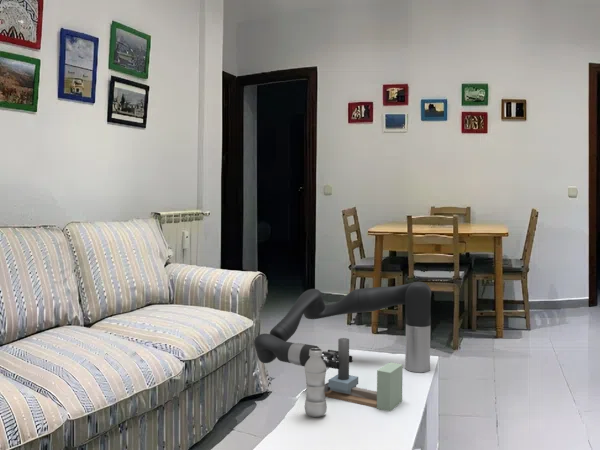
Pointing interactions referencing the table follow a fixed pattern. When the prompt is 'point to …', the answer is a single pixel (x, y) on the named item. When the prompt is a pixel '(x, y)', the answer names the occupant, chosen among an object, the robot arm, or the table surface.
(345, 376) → the cylinder
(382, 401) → the gauge cabinet
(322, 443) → the table surface
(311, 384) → the plastic bottle
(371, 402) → the rail
